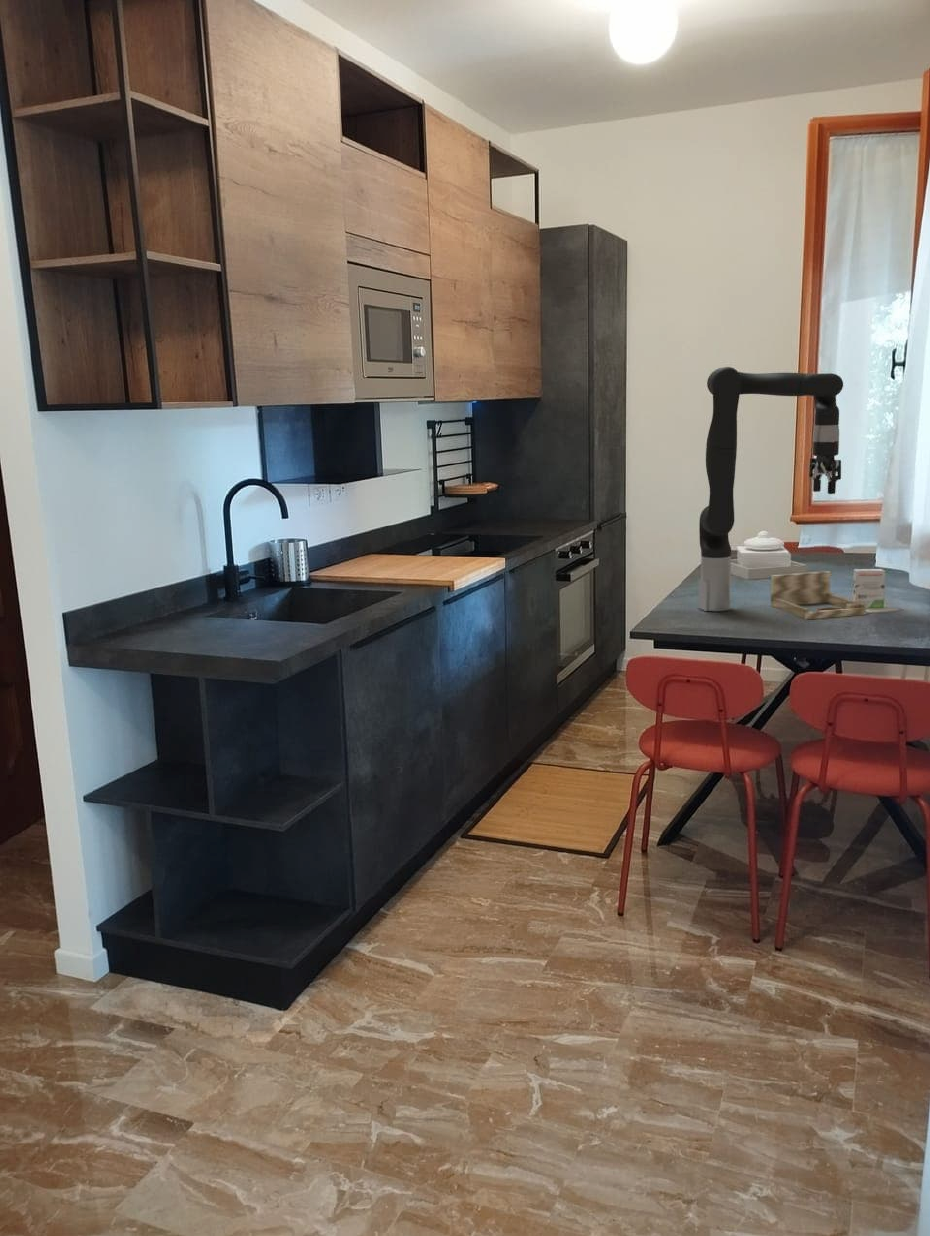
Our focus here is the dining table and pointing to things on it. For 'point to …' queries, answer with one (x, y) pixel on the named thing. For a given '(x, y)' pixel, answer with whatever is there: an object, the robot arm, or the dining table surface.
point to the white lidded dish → (763, 552)
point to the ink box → (869, 587)
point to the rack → (809, 595)
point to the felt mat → (880, 609)
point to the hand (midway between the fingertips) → (824, 492)
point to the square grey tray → (766, 570)
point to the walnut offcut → (829, 608)
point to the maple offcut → (852, 606)
